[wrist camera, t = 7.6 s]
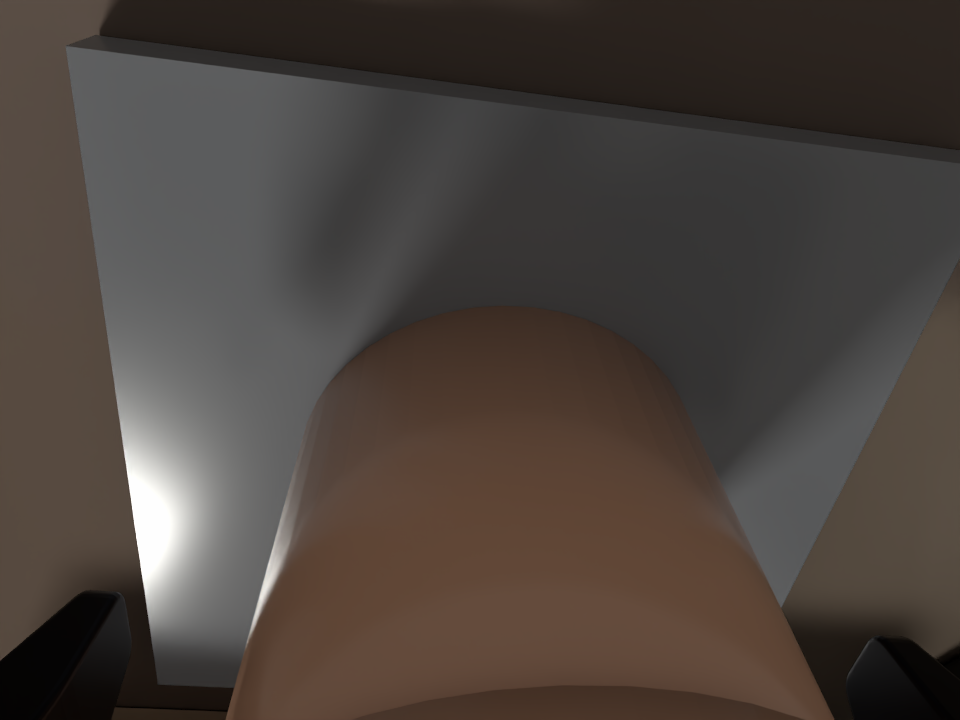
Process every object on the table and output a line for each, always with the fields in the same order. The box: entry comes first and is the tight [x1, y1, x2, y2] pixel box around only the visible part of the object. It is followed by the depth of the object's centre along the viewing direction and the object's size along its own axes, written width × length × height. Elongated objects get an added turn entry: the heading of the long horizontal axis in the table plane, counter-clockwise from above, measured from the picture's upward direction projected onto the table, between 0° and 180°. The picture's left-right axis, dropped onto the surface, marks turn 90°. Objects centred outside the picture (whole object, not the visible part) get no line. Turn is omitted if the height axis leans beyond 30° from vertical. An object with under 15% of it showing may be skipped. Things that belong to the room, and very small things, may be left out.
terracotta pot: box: [226, 306, 834, 720], centre depth 8 cm, size 7×7×7 cm
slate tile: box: [66, 35, 960, 688], centre depth 12 cm, size 11×11×1 cm
